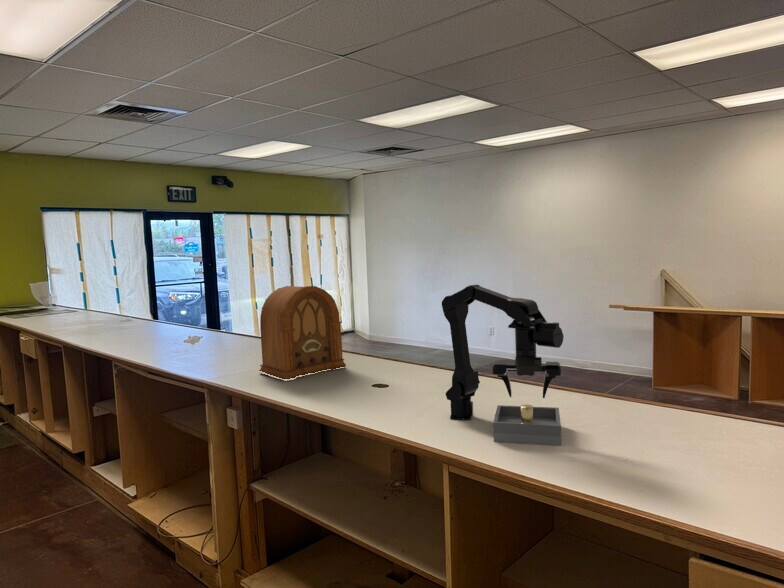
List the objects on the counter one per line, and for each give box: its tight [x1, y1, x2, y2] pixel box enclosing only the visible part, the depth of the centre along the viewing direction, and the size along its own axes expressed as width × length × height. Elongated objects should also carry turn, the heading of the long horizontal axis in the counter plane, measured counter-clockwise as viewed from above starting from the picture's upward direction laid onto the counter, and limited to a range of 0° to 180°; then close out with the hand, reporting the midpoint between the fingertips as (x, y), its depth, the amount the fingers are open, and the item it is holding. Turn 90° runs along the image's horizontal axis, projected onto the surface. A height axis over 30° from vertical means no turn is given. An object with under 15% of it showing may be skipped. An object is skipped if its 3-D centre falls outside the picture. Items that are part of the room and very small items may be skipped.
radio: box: [258, 285, 347, 379], centre depth 240 cm, size 33×23×40 cm
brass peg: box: [520, 404, 534, 423], centre depth 150 cm, size 3×3×8 cm
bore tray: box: [492, 404, 562, 446], centre depth 150 cm, size 18×16×6 cm
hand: (527, 397), depth 149 cm, fingers open, 9 cm apart
